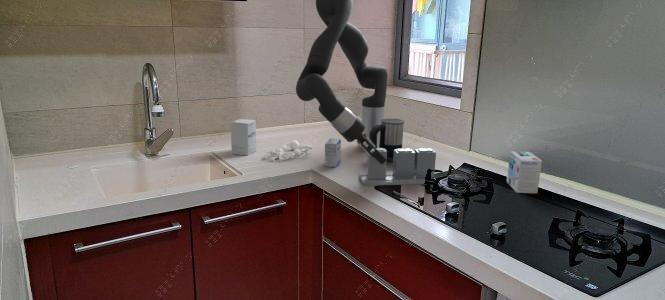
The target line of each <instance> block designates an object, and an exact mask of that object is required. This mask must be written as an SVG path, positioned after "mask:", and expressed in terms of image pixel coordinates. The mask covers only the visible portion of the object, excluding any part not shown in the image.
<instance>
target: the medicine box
mask: <svg viewBox="0 0 665 300" xmlns="http://www.w3.org/2000/svg"><path fill="white" fill-rule="evenodd" d="M341 148H342V139H341V138H329V139H328V140H327V141H326V142H325V144H324V166H325V167H329V168H337V167H338V166H339V164H340V162H341V158H342V157H341V154H342V152H341V151H342V149H341Z"/></svg>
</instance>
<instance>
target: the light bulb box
mask: <svg viewBox="0 0 665 300" xmlns="http://www.w3.org/2000/svg"><path fill="white" fill-rule="evenodd" d="M542 165H543V160H542V159H540V158H539V157H537V156H536V155H535V154H533V153H532V152H531V151H514V150H513V151H512V150H511V151H510V152H509V160H508V167H507V175H506V183H507V184H508V185H509V186H510V187H511V188H512V189H513V191H514V192H515V193H517V194H521V193H522V194H538V191H539V183H540V176H541V171H542Z"/></svg>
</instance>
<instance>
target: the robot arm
mask: <svg viewBox="0 0 665 300" xmlns="http://www.w3.org/2000/svg"><path fill="white" fill-rule="evenodd" d="M315 9H316V11H317V14H318V16H319V18H320V19H321V20H322V22H323V23H324V25H325V26H326V28H325V29H324V30H323V31H322V32H321V33H320V35H318V37H317V38H316V39H315V40H314V42H313V44H312V45H311V48H310V51H309V53H308V57H307V60H306V63H305V65H304V67H303V69H302V71H301V73H300V75H299V77H298V79H297V81H296V84H295V93H296V96H297V97H298V98H299V100H301V101H303V102H310V101H313V100H315V99H316V101H317V102H318V104H319V105H318V112H319V114H321V115H322V116H323V118H325V119H326V120H327V121H328V122H329V123H330V124H331V126H332V128H334V129H335V131H337V132H338V133H339V135H341V136H342V138H344V139H345V141H346V142H348V143H352V142H356V143H357V145H358V146H359V147H360V148H362V149H363V151H365V152H366V153H367V154H368V153H369V154H370V155H371V156H372V157H373V158H375V159H376V160H377V161H378V162H379V163H380V164H383V163H384V162H386V163H387V161H386V159H385V158H384V157H383V156H382V155H381V154H380V153H379V151H378V150H377V149H376V147H375V145H374V144H373V143H372V141H371V140H370V131H371V129H372V128H373V127H374V126H376V125H381V121H380V120H381V119H385V103H386V98H387V89H388V88H387V87H388V74H389V73H388V70H387V68H386V67H384V66H377V65H369V64H367V63H366V58H367V56H368V54H369V48H370V47H369V44H368V42H367V40H366V37H365V36H364V34H363V33H362V31H361V30H360V29H359V28H357V27H356V26H354V25H353V24H351V23H350V22H348V21H349V19H350V17H351V14H352V12H353V0H315ZM337 43H338V45H339V47H340V48H341V50H342V52H343V54H344V55H345V57H346V58H347V59H348V62H349V63H350V66H351V67H352V69H353V72H354V74H355V77H356V80H357V81H358V83H359V85H360V86H361V87H362V88H364V89H369V90H374V91H373V94H372V95H370V96H366V97H365V96H364V98H362V99H361V100H362V101H361V119H359V117H358V116H357V115H356V114H355V113H354V112H352V110H350V109H349V108H348V107H346V105H345V104H343V102H342V101H341V100H339V98H338V97H337V96H336V94H335V92H334V90H333V88H332V87H331V86H330V84H329V82H328V81H327V80H326V79H325V78H324V77H323V76H324V75H325V74H326V73H327V71H328V70H329V67H330V64H331V61H332V57H333V53H334V51H335V47H336V45H337ZM355 140H356V141H355ZM379 142H380V131H379V132H378V134H377V148H379ZM372 149H374V150H375V151H374V152H373V153H371V150H372Z"/></svg>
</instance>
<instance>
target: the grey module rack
mask: <svg viewBox="0 0 665 300" xmlns="http://www.w3.org/2000/svg"><path fill="white" fill-rule="evenodd" d="M436 156H437V152H436V151H435V149H433V148H415V149H414V150H413V149H412V148H402V149H394V158H393V161H392V163H393V164H392V173H387V172H386V179H368V177H367V173H359V174H358V178H359V180H360V182H361V184H362V185H363V187H365V186H366V187H367V186H404V185H405V186H407V185H408V186H409V185H413V184H414V185H425V184H424V183H425V177H426V174H427V170H428V169H431V170H434V171H432V172H431V179H435V180H436V178H435V171H436V159H437V158H436Z"/></svg>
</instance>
